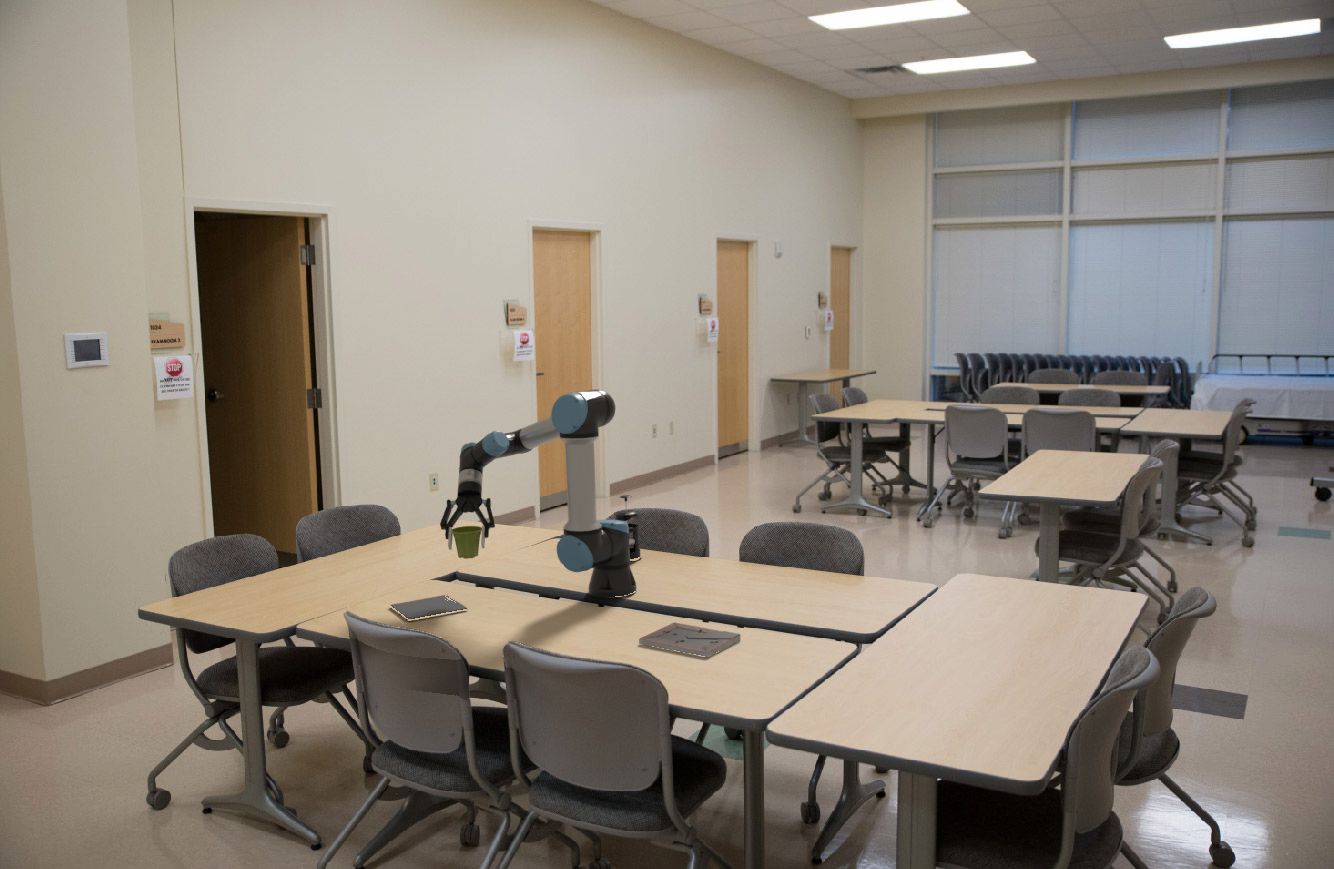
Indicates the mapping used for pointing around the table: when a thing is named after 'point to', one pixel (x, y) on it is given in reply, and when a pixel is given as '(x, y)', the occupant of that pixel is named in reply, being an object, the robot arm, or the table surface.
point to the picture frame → (690, 639)
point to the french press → (626, 516)
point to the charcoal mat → (427, 607)
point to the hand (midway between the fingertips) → (466, 546)
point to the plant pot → (467, 540)
